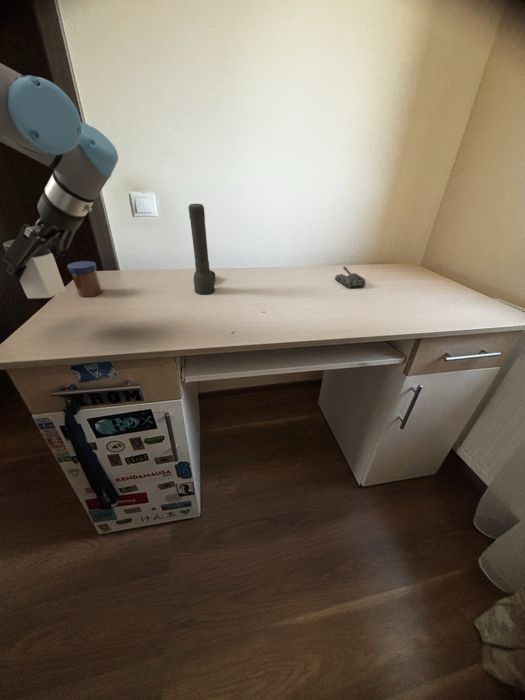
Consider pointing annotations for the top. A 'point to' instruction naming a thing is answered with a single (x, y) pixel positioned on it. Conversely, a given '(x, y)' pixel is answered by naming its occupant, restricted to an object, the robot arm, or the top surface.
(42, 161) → the robot arm
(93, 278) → the jam jar
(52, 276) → the jar
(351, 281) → the tank toy
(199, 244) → the flashlight
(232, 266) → the top surface
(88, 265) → the lid
